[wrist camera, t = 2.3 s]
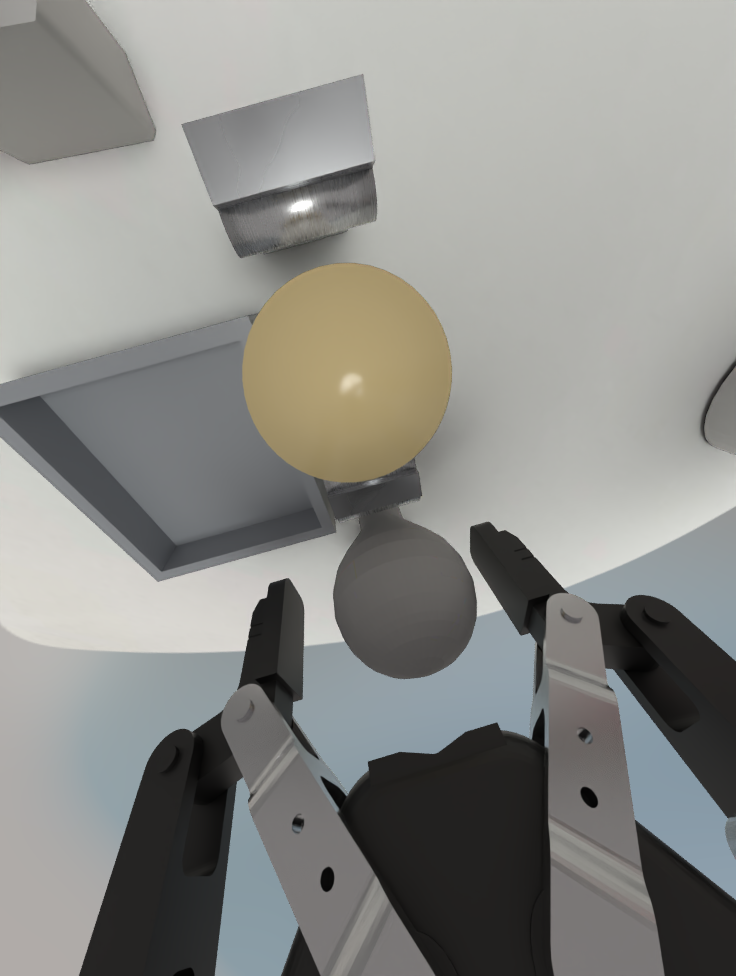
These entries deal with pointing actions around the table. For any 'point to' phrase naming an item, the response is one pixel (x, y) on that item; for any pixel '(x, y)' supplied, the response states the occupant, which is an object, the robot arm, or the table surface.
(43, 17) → the lighter
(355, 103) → the clip block
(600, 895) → the robot arm
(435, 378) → the cream domed cylinder
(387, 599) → the light bulb
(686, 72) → the table surface
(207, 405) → the tray
